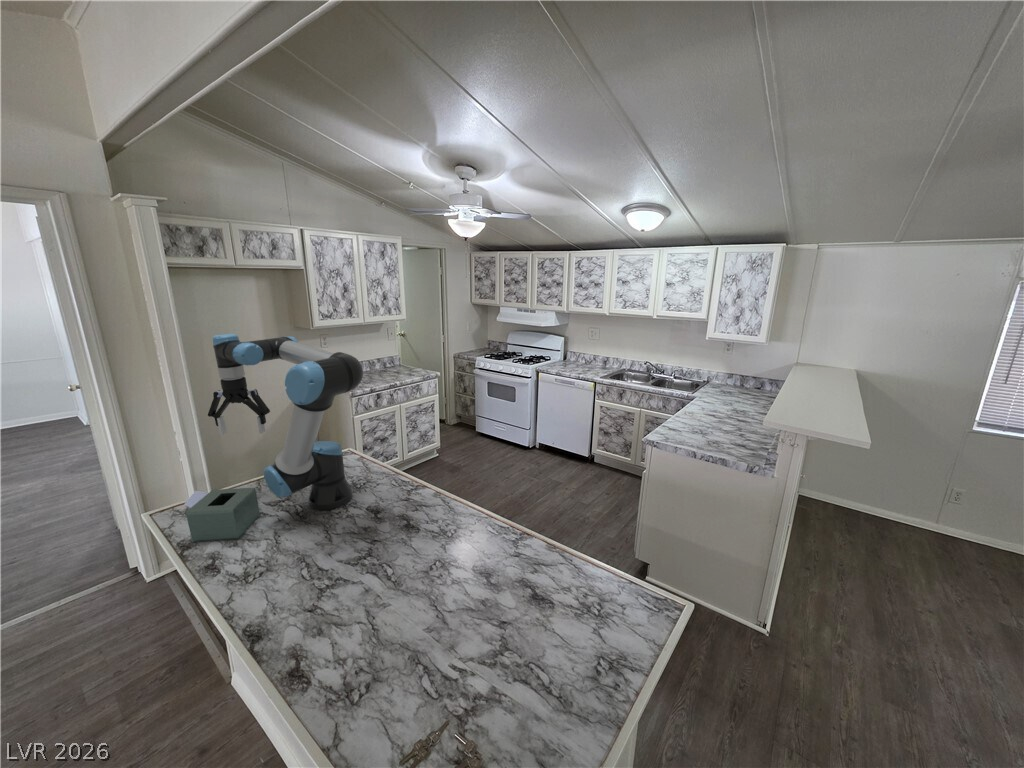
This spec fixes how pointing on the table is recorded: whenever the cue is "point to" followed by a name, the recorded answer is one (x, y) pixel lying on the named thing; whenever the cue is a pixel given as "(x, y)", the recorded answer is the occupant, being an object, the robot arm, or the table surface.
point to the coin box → (223, 515)
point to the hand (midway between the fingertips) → (243, 433)
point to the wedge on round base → (195, 498)
